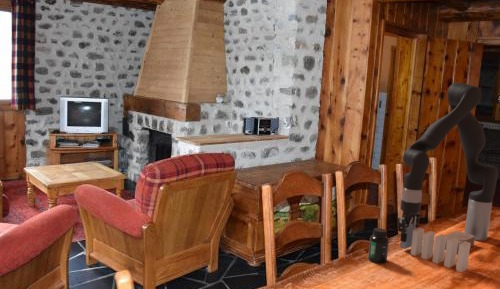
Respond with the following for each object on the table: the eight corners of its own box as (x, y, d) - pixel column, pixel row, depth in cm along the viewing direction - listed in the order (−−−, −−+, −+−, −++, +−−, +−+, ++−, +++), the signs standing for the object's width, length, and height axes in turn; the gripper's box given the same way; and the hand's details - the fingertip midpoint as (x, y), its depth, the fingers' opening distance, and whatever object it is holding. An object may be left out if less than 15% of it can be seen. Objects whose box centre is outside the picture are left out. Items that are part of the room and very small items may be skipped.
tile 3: (427, 254, 178) (430, 230, 177) (432, 256, 177) (435, 232, 175) (421, 257, 175) (424, 233, 174) (426, 259, 174) (429, 234, 172)
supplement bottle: (371, 263, 167) (374, 233, 165) (365, 256, 174) (368, 226, 172) (389, 264, 168) (392, 233, 166) (382, 256, 175) (385, 227, 173)
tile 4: (438, 258, 175) (441, 234, 174) (443, 260, 174) (446, 235, 172) (432, 261, 172) (435, 236, 170) (437, 263, 170) (440, 238, 169)
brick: (454, 254, 181) (456, 243, 181) (435, 247, 188) (436, 236, 187) (474, 246, 192) (476, 235, 191) (455, 240, 198) (456, 229, 197)
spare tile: (406, 244, 185) (409, 221, 183) (411, 246, 183) (414, 222, 182) (400, 247, 181) (403, 223, 180) (405, 248, 180) (407, 224, 178)
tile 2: (416, 251, 182) (419, 227, 180) (421, 252, 180) (424, 229, 179) (410, 254, 178) (413, 230, 177) (415, 255, 177) (417, 231, 175)
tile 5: (449, 262, 172) (453, 237, 170) (455, 264, 170) (458, 239, 169) (443, 266, 169) (447, 240, 167) (449, 267, 167) (452, 242, 166)
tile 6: (461, 266, 169) (465, 241, 167) (467, 268, 167) (470, 243, 166) (455, 270, 165) (459, 244, 164) (461, 272, 164) (464, 246, 162)
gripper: (411, 194, 187) (407, 233, 189) (393, 199, 177) (388, 240, 180) (429, 198, 181) (424, 239, 184) (410, 204, 172) (406, 246, 174)
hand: (406, 239), depth 182 cm, fingers closed on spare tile, 5 cm apart
